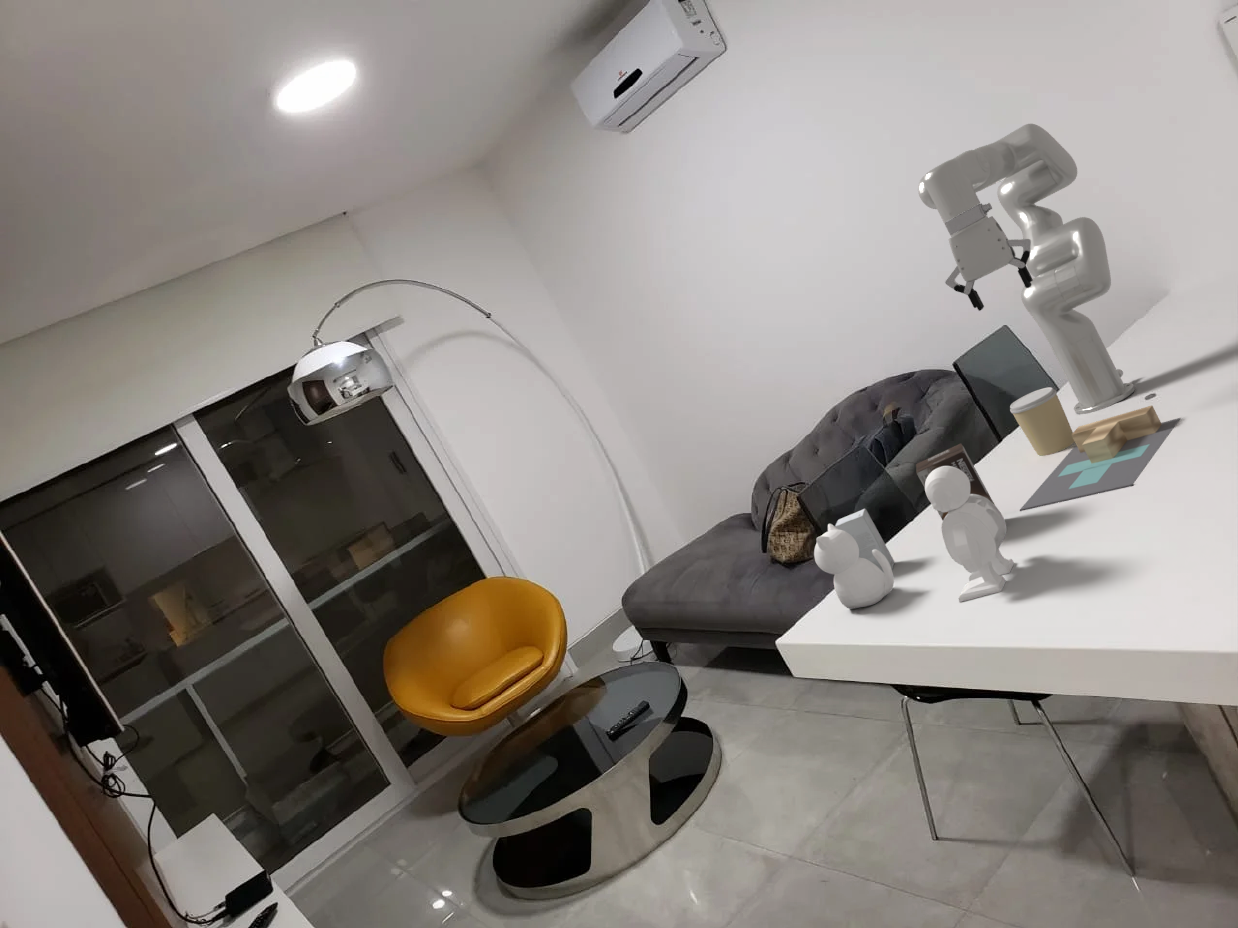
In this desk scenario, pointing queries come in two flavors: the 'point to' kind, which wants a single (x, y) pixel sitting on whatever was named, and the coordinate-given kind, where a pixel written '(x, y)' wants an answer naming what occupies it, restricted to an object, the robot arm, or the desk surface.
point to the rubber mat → (1112, 479)
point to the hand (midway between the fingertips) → (1005, 298)
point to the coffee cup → (1043, 421)
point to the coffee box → (958, 460)
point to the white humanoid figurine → (970, 531)
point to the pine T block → (1114, 433)
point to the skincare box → (865, 536)
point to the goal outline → (1098, 467)
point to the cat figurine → (852, 569)
